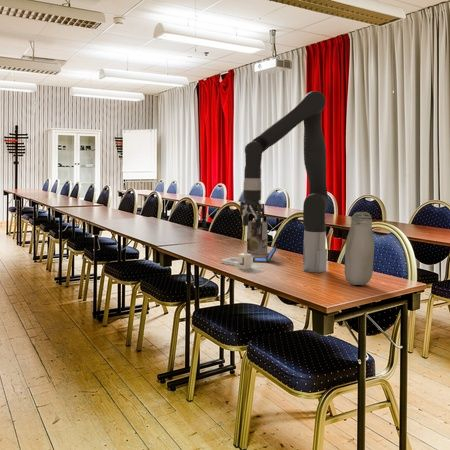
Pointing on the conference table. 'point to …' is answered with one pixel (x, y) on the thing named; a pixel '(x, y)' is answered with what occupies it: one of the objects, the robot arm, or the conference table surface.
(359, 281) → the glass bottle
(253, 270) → the coaster grey
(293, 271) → the conference table surface
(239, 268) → the coaster teal
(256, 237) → the coffee box
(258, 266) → the coaster sage
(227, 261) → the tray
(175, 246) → the conference table surface
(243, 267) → the letter cube
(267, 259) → the handheld game console
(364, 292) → the conference table surface
